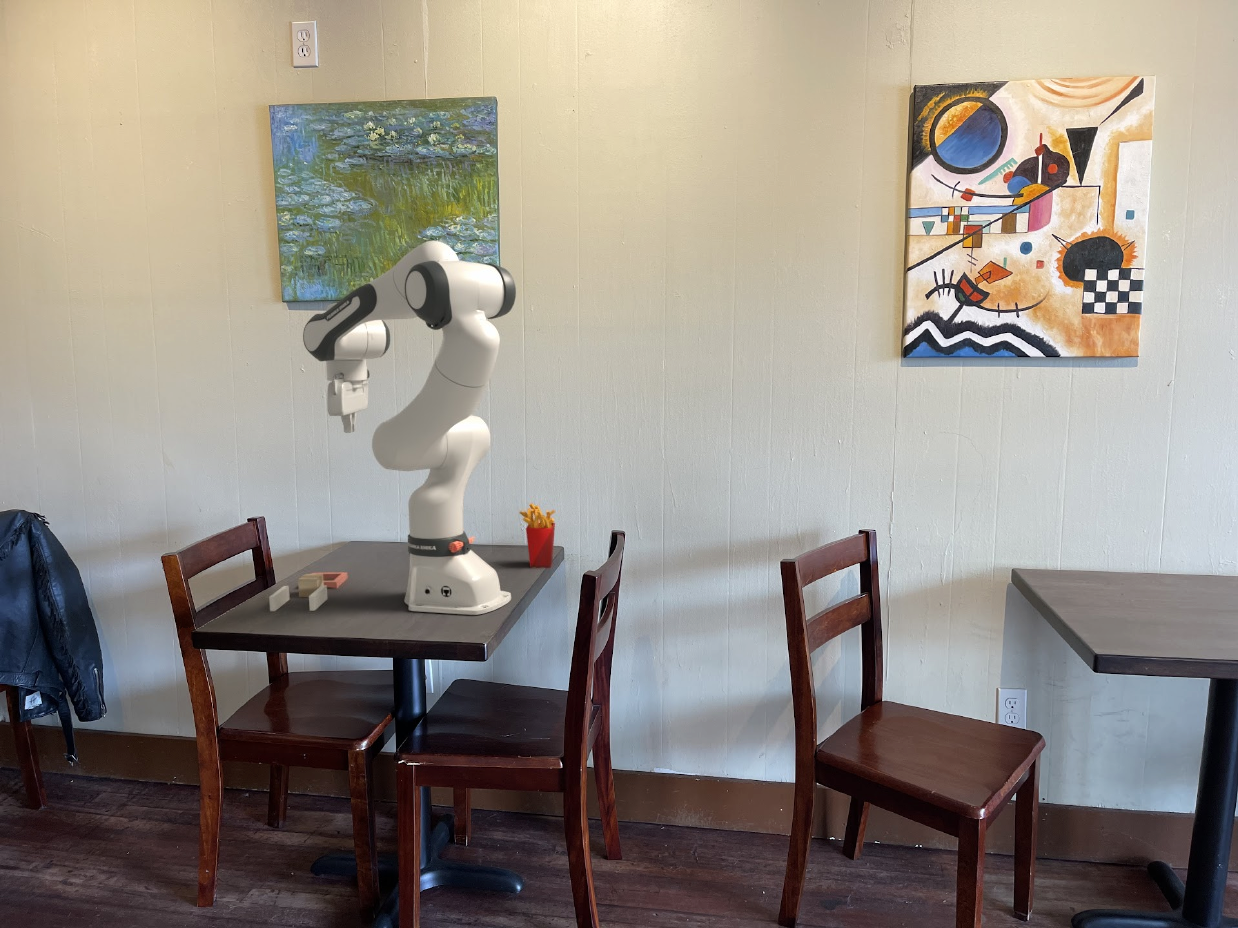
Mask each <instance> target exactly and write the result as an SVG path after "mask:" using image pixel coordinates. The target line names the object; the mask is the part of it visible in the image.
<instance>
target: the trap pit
mask: <svg viewBox="0 0 1238 928" xmlns="http://www.w3.org/2000/svg"><path fill="white" fill-rule="evenodd" d="M311 574H323V583H324V585H327V590H328V589H338V588H339V587H340V586H341V585H342V584H343V583H345V581H347V580H348V572H346V571H345V572H343V571H342V572H312V573H311Z"/></svg>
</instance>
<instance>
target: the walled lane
mask: <svg viewBox="0 0 1238 928" xmlns="http://www.w3.org/2000/svg"><path fill="white" fill-rule="evenodd" d="M268 599H269V600H268V601H269V612H276V611H277V610H278V609H280V608H281V607H282V606H284V605H285V604H286V603H287V602H288V601H289V600H290V587H289V585H283V586H282V587H280V588H279V589H278V590H277V591H275V592H274V593H272V594H271V595H270V596H269V597H268ZM327 600H328V589H327V585H322V586H321V587H319V588H318V589H317V590H316V591H315V592H313V593H312V594H311V595H310V596H309V597H308V602H309V612H311V611H312V612H313V611H316V610H317V609H319V607H320V606H322V605H323V604H324V603H325V602H326V601H327Z"/></svg>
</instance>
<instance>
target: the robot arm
mask: <svg viewBox="0 0 1238 928" xmlns="http://www.w3.org/2000/svg"><path fill="white" fill-rule="evenodd" d="M516 289H517V288H516V283H515V280H514V277H513V276H512V274H511V272H509V271H508V269H506V268H505V267H502V266H500V265H497V264H494V263H490V262H489V263H488V262H472V261H471V262H470V261H464V260H460V259H459V257H458V255H457V253H456V252H455V251H454V250H453V249H452V248H451V246H449V245H448V244H446V243H444V242H442V241H439V240H428V241H425V242H423V243H421V244H420V245H418V246H416V247H415V248H413V249H411V250H410V251H409V252H407V254H405V255H404V256H403V257H402V258H401V259H400V260H398V262H397V263H396V264H395V265H393V266H392V267H391V268H390V269H388V270H386V272H384V273H383V274H381V275H380V276H378V277H376V278H374V279H372V280H371V281H369V282H366V283H365V284H363V285H361V286H359V287H357V288H356V289H354V290H352V291H351V292H349V293H348V294H347V295H346V296H345V297H343V298H342V299H340V300H339V301H334V302H332V303H330V304H329V305H327V307H326V310H325V311H324V312H323V313H316V314H314V315H313V316H312V317H311V318H310V319H309V320H308V321H307V323H306V324H305V326H304V327H303V332H302V337H303V339H302V340H303V341H302V342H303V345H304V347H305V349H306V350H307V352H308V353H309V354H310V355H311V356H312V357H314V358H315V359H316V360H317V361H319V362H326V381H329V383H328V385H327V394H326V395H327V398H326V399H327V403H326V404H327V409H326V410H327V413H328V415H329V417H340V418H341V422H342V425H343V432H344V433H345V434H351V433H353V432H355V431H356V422H357V421H356V420H357V416H358V415H357V413H359V412H362V411H365V410H367V409H368V404H369V380H370V379H371V371H370V369H369V368H368V367H367V360H370V359H371V360H372V359H378V358H382V357H383V356H384V355H385V354H386V353H387V352H388V349H389V348H390V345H391V332H390V329H389V326H388V325H387V323H386V322H385V321H386V320H387V321H388V320H410V319H414V318H415V319H416V318H418V319H421V320H422V321H423V322H425V324H426V326H427V328H429V329H431V330H434V331H439V330H442V342H441V344H440V347H439V349H438V352H437V354H436V357H435V359H434V362H433V364H432V366H431V369H430V372H429V374H428V376H427V379H426V381H425V383H424V385H423V387H422V388H421V390H420V391H419V392H418V394H417V395H416V396H414V398H413V399H412V401H411V402H410V403H408V404H407V405H406V407H405V408H403V409H402V410H401V411H399V412H398V413H397V414H395V415H393V416H392V417H391V418H389V419H388V420H385V421H383V422H381V423H380V424H379V425H377V428H375V430H374V433H373V435H372V440H371V449H372V450H371V451H372V454H373V456H374V458H375V459H376V462H377V463H378V464H379V465H380V466H381V467H382V468H384V469H385V470H390V471H391V470H392V471H401V472H413V471H414V472H415V471H423V470H429V473H428V475H427V477H426V479H425V480H424V482H423V483H422V485H420V486H419V487H418V488H417V489H415V490H414V491H413V492H412V493H411V495H410V497H409V499H408V525H409V534H408V535H407V551H408V554H409V555H408V556H409V571H408V572H409V573H408V582H407V586H406V587H407V588H406V593H405V597H404V601H403V602H404V603H405V604H406V605H407V606H408V611H411V612H420V613H421V612H425V613H437V614H438V613H440V614H454V615H455V614H457V615H469V616H476V615H477V616H478V615H481V614H482V615H483V614H486V613H489V612H492V611H495V610H497V609H500V608H502V607H503V606H505V605H507V604H508V603H509V602H511V600H512V594H511V592H509V591H504V590H501V586H500V585H501V584H500V579H499V576H498V573H497V571H496V569H494V568H493V567H492V566H491V565H489V564H488V563H487V562H486V561H485V560H483V559H482V558H481V557H480V556H479V555H478V554H476V553H475V552H474V551H473V550H472V546H471V544H472V543H474V542H475V541H476V540H474V539H475V536H472V537H469V538H468V536H467V534H466V531H465V530H464V499H465V492H466V487H467V484H468V481H469V479H470V478H471V477H470V476H471V474H473V471H474V469H475V468H476V466H477V465H478V464H479V462H481V461H482V459H484V458H485V457H486V456H487V453H488V452H489V450H490V447H491V442H492V441H491V440H492V439H491V437H492V436H491V432H490V429H489V427H488V425H487V422H485V421H484V420H483V418H481V417H479V416H476V415H473V414H474V413H475V412H476V410H477V409H478V408H479V405H480V402H481V400H482V398H483V396H484V393H485V391H486V389H487V387H488V385H489V382H490V381H491V377H492V374H493V372H494V369H495V366H496V362H497V359H498V355H499V350H500V344H501V337H500V334H499V331H498V329H497V328H496V326H494V324H493V323H491V322H490V321H488V320H493V319H497V318H501V317H503V316H505V315H507V314H508V313H510V312H511V310H512V309H513V308H514V307H513V306H514V305H515V301H516V296H517V291H516Z"/></svg>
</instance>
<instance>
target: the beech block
mask: <svg viewBox="0 0 1238 928" xmlns="http://www.w3.org/2000/svg"><path fill="white" fill-rule="evenodd" d="M297 581H298V582H297V583H298V584H297V585H298V587H297V588H298V597H299V598H309V596H310V595H311V594H312V593H313V592H315V591H316V590H317V589H318V588H319V587H321V586H322V585H324V583H323V574H312V573H307V574H305V573H304V574H303V575H301V576H300V577H299V578H298V579H297Z"/></svg>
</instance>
